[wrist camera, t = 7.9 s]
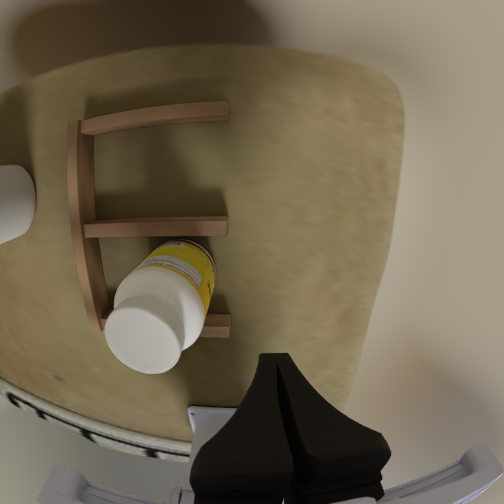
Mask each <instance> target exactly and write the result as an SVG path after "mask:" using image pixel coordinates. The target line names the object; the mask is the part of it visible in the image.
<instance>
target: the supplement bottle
mask: <svg viewBox="0 0 504 504" xmlns="http://www.w3.org/2000/svg"><path fill="white" fill-rule="evenodd" d="M215 281H216V268H215V264H214V262H213V260H212V258H211V256H210V255H209V253H208V252H207V251H206V250H205V249H204V248H203V247H202V246H200V245H199V244H197V243H195V242H193V241H190V240H187V239H173V240H169V241H167V242H165V243H163V244H161V245H160V246H159V247H158V248H156V249H155V250H154V251H153V252H152V253H151V254H150V255H149V256H148V257H147V258H146V259H145V260H143V261H142V262H141V263H140V264H139V265H138V266H137V267H136V268H135V269H134V270H133V271H132V272H131V273H130V274H129V275H128V276H127V277H126V278H125V279H124V280H123V281H122V282H121V284H120V285H119V287H118V289H117V291H116V294H115V299H114V310H113V311H112V313H111V314H110V315H109V317H108V318H107V320H106V324H105V337H106V340H107V343H108V345H109V347H110V349H111V351H112V352H113V353H114V355H115V356H116V357H117V358H118V359H119V360H120V361H121V362H123V363H124V364H125V365H127V366H128V367H130V368H132V369H134V370H137V371H139V372H143V373H148V374H158V373H163V372H166V371H168V370H170V369H171V368H172V367H174V366H175V364H176V363H177V362H178V360H179V357H180V355H181V352H182V351H183V350H184V349H186V348H188V347H189V346H191V345H192V344H193V343H194V342H195V341H196V339H197V338H198V336H199V335H200V333H201V330H202V328H203V325H204V321H205V318H206V314H207V310H208V307H209V303H210V300H211V296H212V292H213V289H214V286H215Z"/></svg>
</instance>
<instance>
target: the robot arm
mask: <svg viewBox="0 0 504 504" xmlns="http://www.w3.org/2000/svg"><path fill="white" fill-rule="evenodd" d="M188 414H189V418H190V422H191V426H192V430H193V434H194V436H193V442H192V447H191V453H190V459H189V465H188V471H187V477H186V479H184V486H183V490H182V487H179V486H175V487H174V488H172V489H171V490H169V492H168V496H167V499H166V502H160V501H155V500H151V499H146V498H142V497H138V496H134V495H130V494H126V493H123V492H120V491H116V490H113V489H110V488H107V487H104V486H100V485H98V484H95V483H92V482H90V481H87V479H86V478H85V477H84V476H83V475H82V474H81V473H80V472H78V471H76V470H74V469H72V468H69V467H67V466H65V465H63V464H61V463H58V462H54V464H53V466H52V468H51V470H50V472H49V474H48V476H47V478H46V480H45V482H44V484H43V486H42V489H41V491H40V493H39V495H38V497H37V502H38V503H39V504H282V502H283V499H284V504H466V503H468V502H470V501H471V500H473V499H474V498H476V497H477V496H478V495H479V494H481V493H482V492H483V491H484V490H485V489H487V488H488V487H489V486H490V485H491V484H492V483H494V481H496V480H497V479H498V478H499V477H500V476H501V475H502V474H503V473H504V468H503V466H502V465H501V463H500V461H499V460H498V458H497V457H496V455H495V453H494V452H493V450H492V449H491V447H490V446H489V444H488V443H487V441H486V440H484V441H482V442H480V443H478V444H477V445H475V446H474V447H472V448H470V449H469V450H467V451H466V452H465V453H464V454H463V455H462V457H461V458H460V459H459V460H458V461H456V462H454V463H452V464H450V465H447V466H445V467H443V468H442V469H439V470H437V471H435V472H432V473H430V474H428V475H425V476H423V477H420V478H418V479H415V480H413V481H410V482H407V483H405V484H402V485H399V486H396V487H393V488H390V489H387V490H383V487H382V485H381V482H380V481H381V480H382V475H381V472H380V471H381V470H382V469H383V467H384V466H385V465H386V463H387V462H388V460H389V459H390V457H391V450H390V448H389V446H388V444H387V442H386V440H385V439H384V437H383V435H382V434H381V433H379V432H377V431H374V430H372V429H370V428H367V427H365V426H363V425H361V424H359V423H357V422H355V421H354V420H352V419H350V418H349V417H347V416H346V415H344V414H343V413H341V412H340V411H338V410H337V409H336V408H335V407H333V406H332V405H331V404H330V403H328V402H327V401H326V400H325V399H324V398H323V397H322V396H321V395H320V394H319V393H318V392H317V391H316V390H315V389H314V388H313V387H312V386H311V384H310V383H309V382H308V381H307V379H306V378H305V377H304V376H303V374H302V373H301V372H300V370H299V369H298V367H297V366H296V365H295V363H294V361H293V360H292V358H291V356H290V355H289V354H288V353H261V354H260V355H259V362H258V366H257V370H256V373H255V376H254V378H253V381H252V383H251V385H250V387H249V389H248V391H247V394H246V395H245V397H244V399H243V401H242V402H241V404H240V405H239V407H238V408H212V407H196V406H190V407H188Z"/></svg>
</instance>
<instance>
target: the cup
mask: <svg viewBox="0 0 504 504" xmlns="http://www.w3.org/2000/svg"><path fill="white" fill-rule="evenodd" d="M35 209H36V193H35V187H34V184H33V181H32V178H31V177H30V175H29V173H28V172H27V171H26V170H25V169H24V168H23V167H22V166H19V165H3V166H0V244H2V243H4V242H6V241H9V240H11V239H14V238H16V237H19V236H21V235H23V234H24V233H25V232H26V231H27V230H28V229H29V227H30V225H31V223H32V221H33V218H34V215H35Z"/></svg>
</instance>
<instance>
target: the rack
mask: <svg viewBox="0 0 504 504" xmlns="http://www.w3.org/2000/svg"><path fill="white" fill-rule="evenodd" d="M205 121H229V107H228V104H227V101H212V102H196V103H183V104H173V105H164V106H156V107H149V108H142V109H136V110H130V111H124V112H119V113H113V114H108V115H104V116H99V117H95V118H90V119H86V120H82V121H81V120H76V121H72V122H68V133H67V185H68V202H69V214H70V224H71V232H72V240H73V247H74V254H75V260H76V265H77V271H78V276H79V281H80V286H81V291H82V295H83V299H84V303H85V308H86V312H87V315H88V319H89V323H90V326H91V330H92V331H98V332H101V331H102V330H103V329H105V324H106V320H107V318H108V317H109V315H110V314H111V313H112V311H113V310H114V309H112V308H110V305H109V300H108V295H107V290H106V285H105V279H104V274H103V268H102V261H101V254H100V247H99V239H98V237H137V236H227V233H228V230H229V216H191V217H152V218H126V219H105V220H96V209H95V194H94V164H93V149H94V135H98V134H104V133H109V132H115V131H121V130H127V129H134V128H141V127H148V126H157V125H166V124H177V123H189V122H205ZM230 330H231V314H206V318H205V321H204V325H203V328H202V330H201V333H200V335H199V336H198V337H217V338H230Z"/></svg>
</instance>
